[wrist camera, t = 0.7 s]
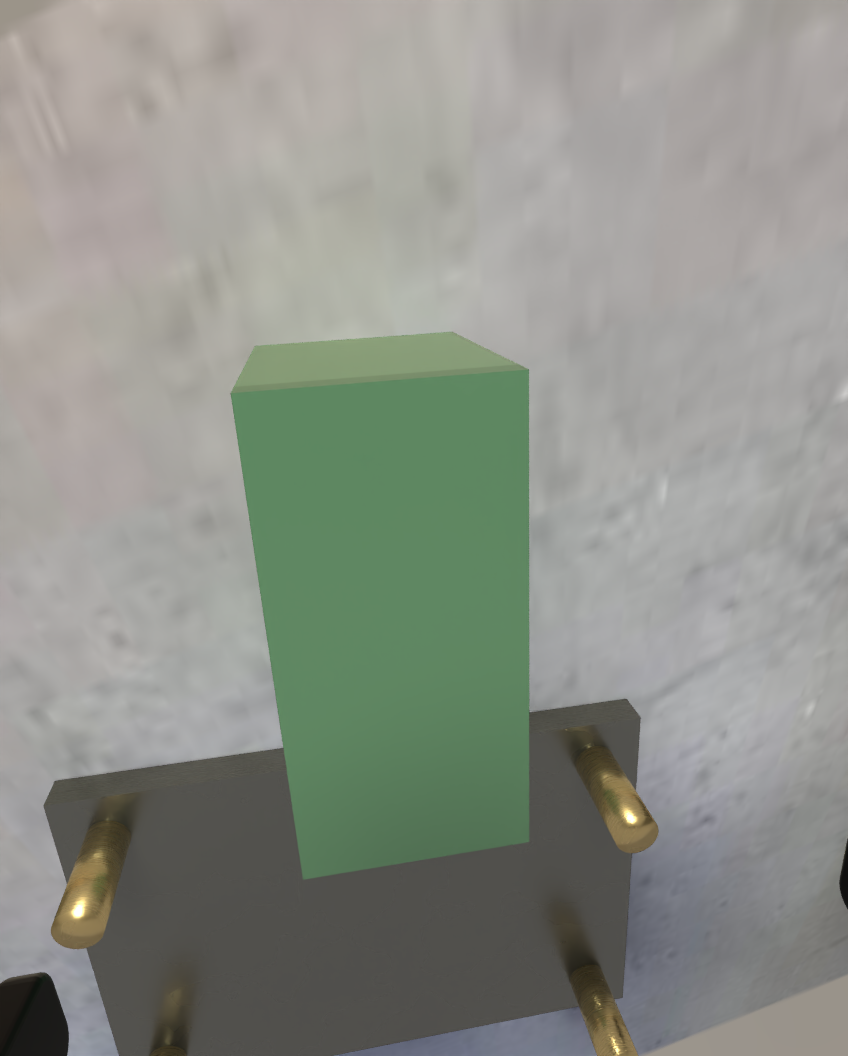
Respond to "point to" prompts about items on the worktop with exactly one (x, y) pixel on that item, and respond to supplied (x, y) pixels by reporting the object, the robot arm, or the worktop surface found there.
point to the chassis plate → (348, 906)
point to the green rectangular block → (393, 590)
